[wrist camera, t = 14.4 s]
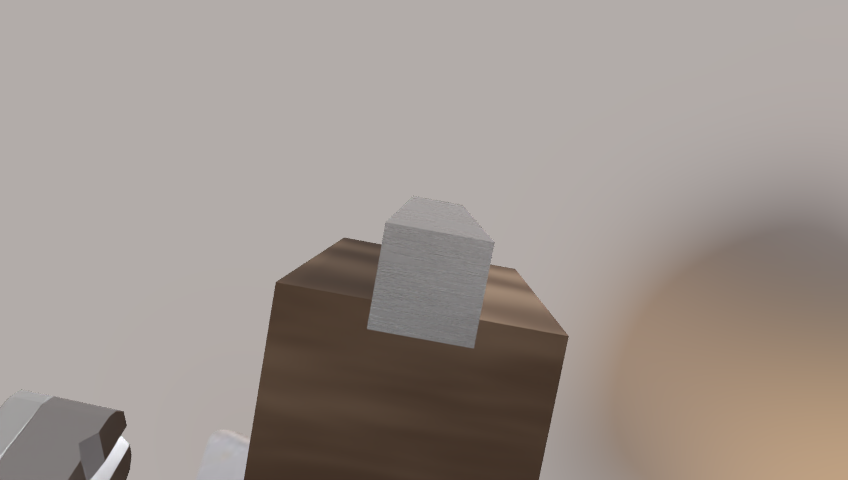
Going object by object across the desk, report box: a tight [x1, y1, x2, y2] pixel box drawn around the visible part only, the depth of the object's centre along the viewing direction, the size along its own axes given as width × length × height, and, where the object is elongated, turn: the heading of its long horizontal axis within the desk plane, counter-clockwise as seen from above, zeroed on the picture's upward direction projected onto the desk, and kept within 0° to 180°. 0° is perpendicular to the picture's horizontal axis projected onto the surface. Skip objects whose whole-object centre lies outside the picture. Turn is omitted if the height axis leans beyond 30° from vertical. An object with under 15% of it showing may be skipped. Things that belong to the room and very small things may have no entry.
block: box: [367, 196, 494, 349], centre depth 29 cm, size 22×3×3 cm, turn 179°
